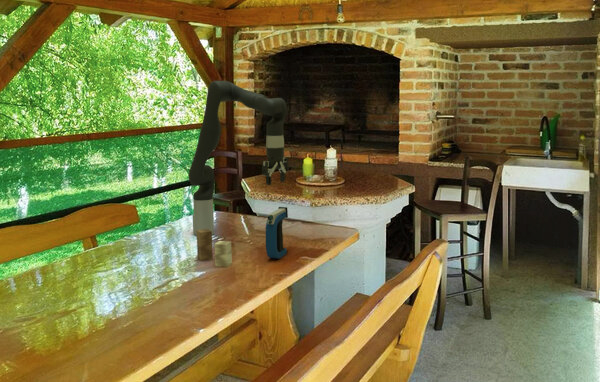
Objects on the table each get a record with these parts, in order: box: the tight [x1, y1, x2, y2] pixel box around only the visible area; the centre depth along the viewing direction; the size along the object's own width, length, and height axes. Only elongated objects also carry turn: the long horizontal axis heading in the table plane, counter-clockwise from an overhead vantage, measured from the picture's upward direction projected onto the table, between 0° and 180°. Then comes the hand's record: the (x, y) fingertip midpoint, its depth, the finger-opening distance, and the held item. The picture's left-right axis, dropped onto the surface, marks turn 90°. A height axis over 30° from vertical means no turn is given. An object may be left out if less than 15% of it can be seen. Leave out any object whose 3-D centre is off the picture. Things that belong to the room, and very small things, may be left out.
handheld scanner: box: [265, 206, 289, 260], centre depth 259 cm, size 5×16×20 cm, turn 161°
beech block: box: [214, 240, 233, 268], centre depth 249 cm, size 5×5×9 cm
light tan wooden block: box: [196, 229, 214, 262], centre depth 257 cm, size 5×5×12 cm
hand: (275, 183), depth 268 cm, fingers open, 8 cm apart
